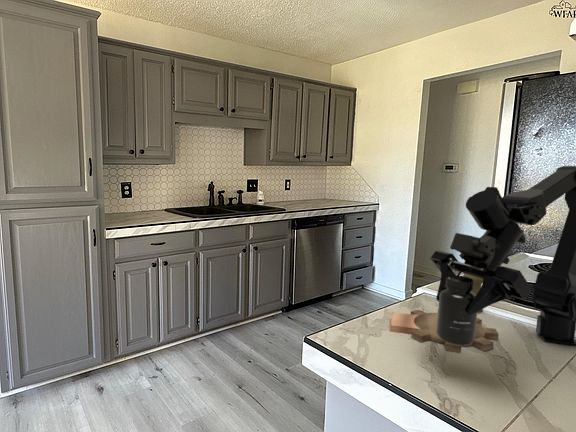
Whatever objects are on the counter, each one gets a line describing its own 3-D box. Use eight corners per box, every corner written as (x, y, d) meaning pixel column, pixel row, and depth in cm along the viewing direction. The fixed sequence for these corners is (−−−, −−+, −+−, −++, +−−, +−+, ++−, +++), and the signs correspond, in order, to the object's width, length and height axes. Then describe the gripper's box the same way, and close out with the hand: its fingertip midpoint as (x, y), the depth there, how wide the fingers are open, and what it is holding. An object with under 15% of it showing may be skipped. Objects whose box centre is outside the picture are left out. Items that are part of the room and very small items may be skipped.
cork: (487, 313, 102) (490, 274, 101) (465, 313, 103) (468, 274, 101) (476, 305, 108) (479, 268, 107) (455, 305, 109) (458, 268, 107)
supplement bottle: (458, 349, 68) (462, 286, 66) (429, 334, 74) (432, 276, 72) (482, 341, 71) (487, 280, 69) (452, 327, 77) (456, 271, 75)
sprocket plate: (487, 320, 98) (488, 300, 97) (508, 359, 78) (510, 334, 77) (392, 309, 105) (393, 290, 104) (389, 342, 85) (390, 319, 84)
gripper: (439, 213, 79) (396, 269, 76) (526, 225, 63) (476, 297, 59) (462, 246, 84) (423, 300, 81) (550, 265, 67) (505, 334, 64)
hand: (452, 306), depth 71 cm, fingers closed on supplement bottle, 7 cm apart
